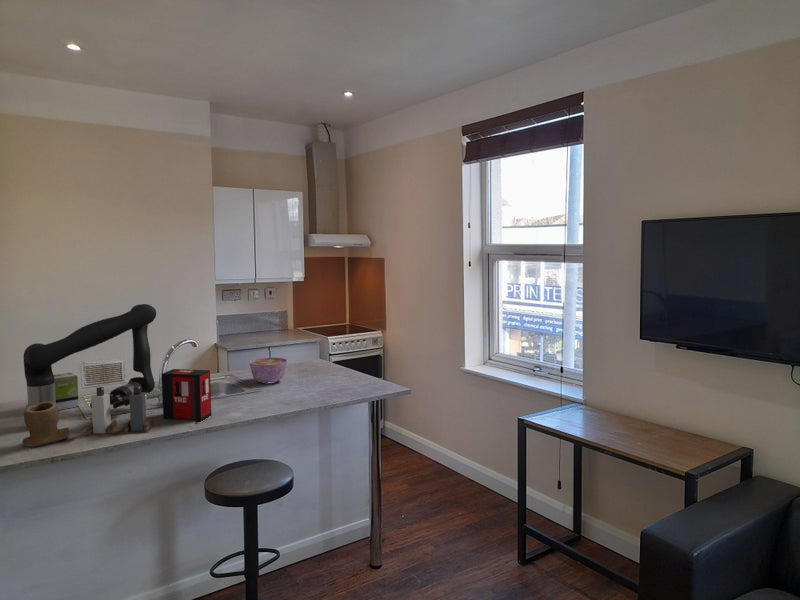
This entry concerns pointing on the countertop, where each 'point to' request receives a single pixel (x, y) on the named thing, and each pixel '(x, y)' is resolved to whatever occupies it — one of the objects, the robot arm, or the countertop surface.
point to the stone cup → (43, 424)
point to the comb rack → (119, 429)
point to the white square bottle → (101, 411)
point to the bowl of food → (268, 369)
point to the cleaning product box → (186, 394)
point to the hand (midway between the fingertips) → (102, 406)
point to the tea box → (66, 390)
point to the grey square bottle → (137, 410)
